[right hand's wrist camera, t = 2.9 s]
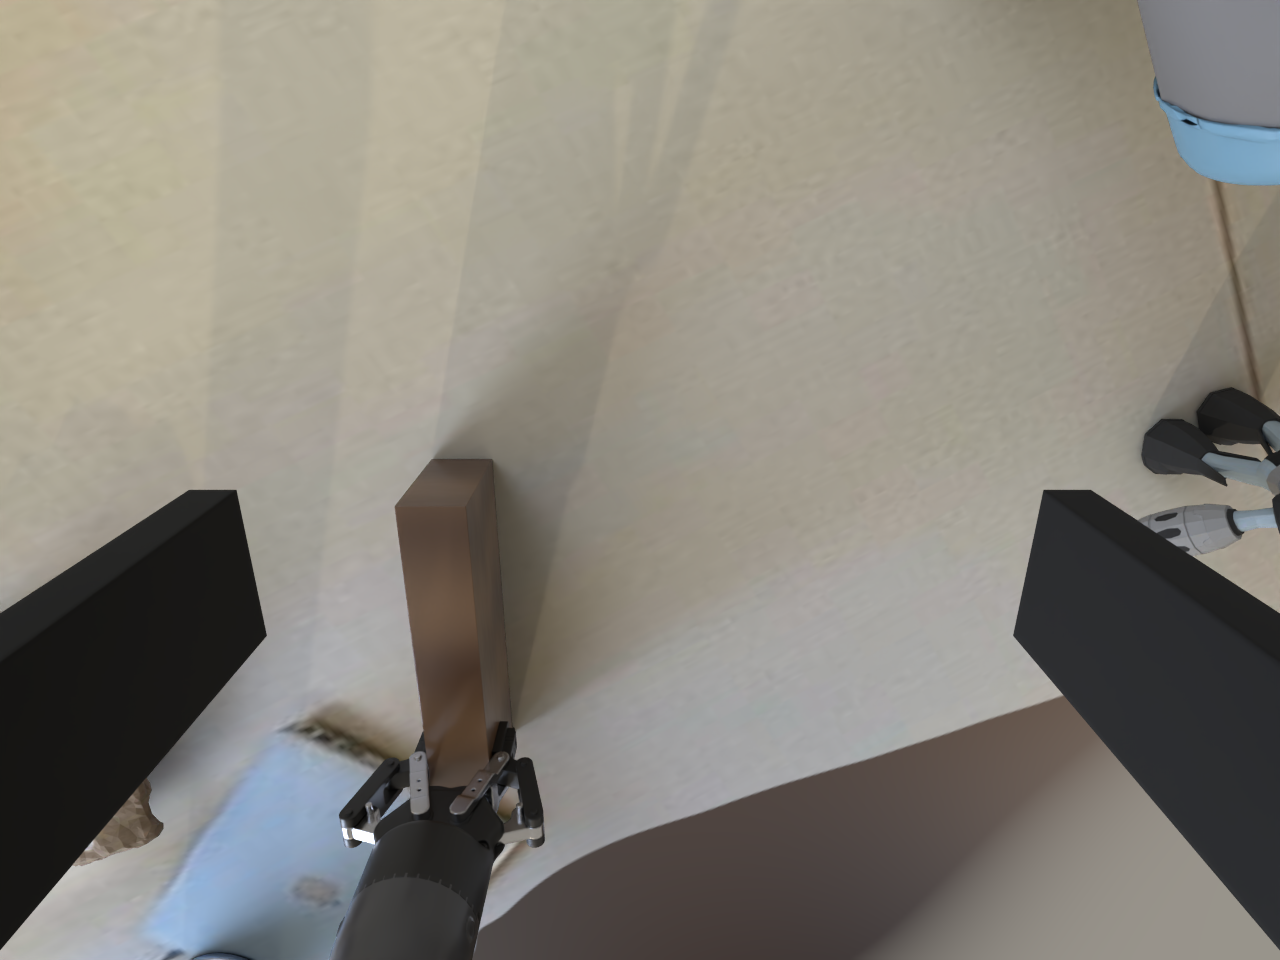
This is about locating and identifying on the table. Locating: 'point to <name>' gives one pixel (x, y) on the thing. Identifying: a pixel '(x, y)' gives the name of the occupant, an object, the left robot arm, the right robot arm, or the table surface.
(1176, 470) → the robot
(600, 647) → the table surface
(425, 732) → the bar
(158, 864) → the table surface
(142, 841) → the stone
